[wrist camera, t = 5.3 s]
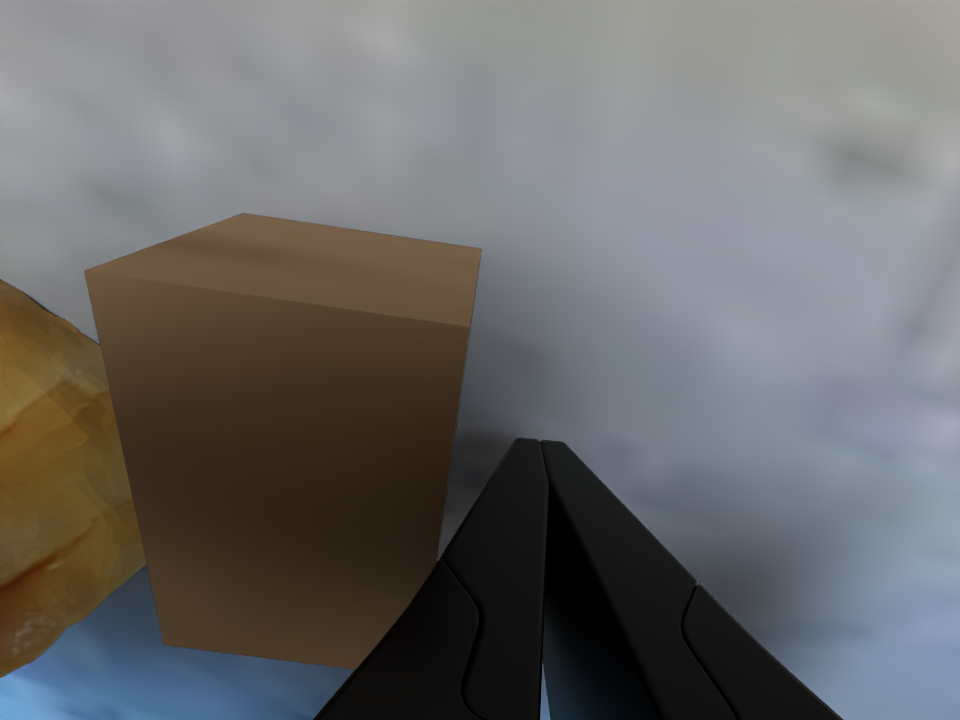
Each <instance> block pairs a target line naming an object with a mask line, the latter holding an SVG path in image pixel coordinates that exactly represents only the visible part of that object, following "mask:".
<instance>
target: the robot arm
mask: <svg viewBox="0 0 960 720" xmlns="http://www.w3.org/2000/svg"><path fill="white" fill-rule="evenodd" d="M696 585H697V581H696V579H695V578H694V577H693V576H692V575H691V574H690V573H689V572H688V571H687V570H686V569H685V568H684V567H683V566H682V565H681V564H680V563H679V562H678V560H677V559H676V558H675V557H674V556H673V555H672V554H671V553H670V552H669V551H668V550H667V549H666V548H665V547H664V546H663V545H662V544H661V543H660V542H659V541H658V540H657V539H656V538H655V537H654V535H653V534H652V533H651V532H650V531H649V530H648V529H647V528H646V527H645V526H644V525H643V524H642V523H641V522H640V521H639V520H638V519H637V518H636V517H635V516H634V515H633V514H632V513H631V512H630V510H629V509H628V508H627V507H626V506H625V505H624V504H623V503H622V502H621V501H620V500H619V499H618V498H617V497H616V496H615V495H614V494H613V493H612V492H611V491H610V490H609V489H608V488H607V487H606V485H605V484H604V483H603V482H602V481H601V480H600V479H599V478H598V477H597V476H596V475H595V474H594V473H593V472H592V471H591V470H590V469H589V468H588V467H587V466H586V465H585V464H584V463H583V462H582V460H581V459H580V458H579V457H578V456H577V455H576V454H575V453H574V452H573V451H572V450H571V449H570V448H569V447H568V446H567V445H566V444H565V443H564V442H561V441H550V440H541V441H539V440H537V439H528V438H516V439H515V440H514V441H513V443H512V445H511V446H510V448H509V449H508V451H507V453H506V454H505V456H504V457H503V459H502V460H501V462H500V464H499V465H498V467H497V468H496V470H495V472H494V473H493V475H492V476H491V478H490V479H489V481H488V483H487V484H486V486H485V487H484V489H483V491H482V492H481V494H480V495H479V497H478V498H477V500H476V502H475V503H474V505H473V506H472V508H471V510H470V511H469V513H468V514H467V516H466V517H465V519H464V521H463V522H462V524H461V525H460V527H459V529H458V530H457V532H456V533H455V535H454V536H453V538H452V540H451V541H450V543H449V544H448V546H447V548H446V549H445V551H444V552H443V554H442V555H441V557H440V561H438V562H437V563H436V564H435V566H434V568H433V569H432V571H431V572H430V574H429V576H428V577H427V579H426V580H425V582H424V583H423V585H422V586H421V587H420V589H419V590H418V592H417V593H416V595H415V596H414V598H413V599H412V601H411V602H410V603H409V605H408V606H407V608H406V609H405V610H404V612H403V613H402V614H401V615H400V617H399V618H398V619H397V620H396V622H395V623H394V624H393V625H392V627H391V628H390V629H389V630H388V632H387V633H386V634H385V635H384V637H383V638H382V639H381V640H380V641H379V643H378V644H377V645H376V646H375V647H374V649H373V650H372V651H371V652H370V653H369V654H368V656H367V657H366V658H365V659H364V660H363V661H362V663H361V664H360V665H359V666H358V667H357V668H356V670H355V671H354V672H353V673H352V674H351V675H350V677H349V678H348V679H347V680H346V681H345V683H344V684H343V685H342V686H341V687H340V688H339V690H338V691H337V692H336V693H335V694H334V695H333V697H332V698H331V699H330V700H329V701H328V702H327V704H326V705H325V706H324V707H323V708H322V709H321V711H320V712H319V713H318V714H317V715H316V717H315V718H314V719H313V720H540V706H541V683H542V659H543V666H544V674H545V681H546V689H547V697H548V704H549V712H550V719H551V720H843V719H842V718H841V717H840V716H839V715H838V714H836V713H835V712H834V711H833V710H832V709H831V708H830V707H829V706H828V705H826V704H825V703H824V702H823V701H822V700H821V699H820V698H819V697H817V696H816V695H815V694H814V693H813V692H812V691H811V690H810V689H809V688H807V687H806V686H805V685H804V684H803V683H802V682H801V681H800V680H798V679H797V678H796V677H795V676H794V675H793V674H792V673H791V672H790V671H789V670H788V669H786V668H785V667H784V666H783V665H782V664H781V663H780V662H779V661H778V660H777V659H776V658H775V657H774V656H772V655H771V654H770V653H769V652H768V651H767V650H766V649H765V648H764V647H763V646H762V645H761V644H759V643H758V642H757V641H756V640H755V639H754V638H753V637H752V636H751V635H750V634H749V633H748V632H747V631H746V630H745V629H744V628H743V627H742V626H741V625H740V624H739V623H738V622H737V621H736V620H735V619H734V618H733V617H732V616H731V615H730V614H729V613H728V612H727V611H726V610H725V609H724V608H723V607H722V606H721V605H720V604H719V603H718V602H717V601H716V600H715V599H714V598H713V597H712V596H711V595H710V594H709V593H708V591H707V590H706V589H705V588H704V587H703V586H702V585H697V586H696Z"/></svg>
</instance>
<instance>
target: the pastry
mask: <svg viewBox="0 0 960 720" xmlns="http://www.w3.org/2000/svg"><path fill="white" fill-rule="evenodd" d="M145 565H146V559H145V555H144V550H143V545H142V540H141V536H140V531H139V526H138V522H137V517H136V512H135V508H134V503H133V498H132V493H131V489H130V484H129V479H128V475H127V470H126V465H125V461H124V456H123V451H122V446H121V442H120V437H119V432H118V428H117V423H116V418H115V414H114V409H113V404H112V399H111V395H110V390H109V385H108V381H107V376H106V371H105V367H104V362H103V357H102V352H101V348H100V346H99V345H98V344H96V343H95V342H93V341H92V340H90V339H89V338H87V337H86V336H84V335H83V334H82V333H80V332H79V331H78V330H77V329H76V328H75V327H74V326H73V325H72V324H71V323H70V322H68V321H66V320H65V319H63V318H60V317H57V316H55V315H53V314H51V313H49V312H47V311H46V310H44V309H43V308H41V307H40V306H39V305H38V304H37V303H35V302H34V301H33V300H32V299H31V298H29V297H28V296H27V295H26V294H25V293H23V292H22V291H21V290H19V289H17V288H16V287H14V286H12V285H10V284H8V283H6V282H4V281H2V280H1V279H0V678H1V677H3V676H6V675H7V674H9V673H11V672H13V671H14V670H16V669H18V668H20V667H22V666H24V665H26V664H28V663H30V662H32V661H34V660H35V659H36V658H38V657H39V656H40V655H42V654H43V653H44V652H45V651H46V650H47V649H48V648H49V647H50V646H51V645H52V644H53V643H54V642H55V641H56V640H57V639H58V638H59V637H60V636H61V634H62V633H63V632H64V631H65V629H66V628H68V627H69V626H71V625H73V624H75V623H77V622H79V621H81V620H83V619H85V618H86V617H87V616H89V615H90V614H91V613H92V612H93V611H94V610H95V609H96V608H97V607H98V606H99V605H100V604H101V603H102V602H103V601H104V600H105V599H106V598H107V597H108V596H109V595H110V594H112V593H113V592H114V591H115V590H116V589H118V588H119V587H120V586H121V585H122V584H124V583H125V582H126V581H127V580H128V579H130V578H131V577H132V576H133V575H134V574H135V573H136V572H138V571H139V570H140V569H141V568H142V567H143V566H145Z"/></svg>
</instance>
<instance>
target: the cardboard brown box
mask: <svg viewBox="0 0 960 720" xmlns="http://www.w3.org/2000/svg"><path fill="white" fill-rule="evenodd" d="M481 250H482V249H479V248H473V247H466V246H459V245H452V244H446V243H439V242H432V241H426V240H419V239H412V238H406V237H399V236H392V235H386V234H379V233H372V232H366V231H359V230H352V229H346V228H339V227H332V226H326V225H319V224H312V223H306V222H299V221H292V220H286V219H279V218H272V217H266V216H259V215H252V214H246V213H242V214H239V215H237V216H234V217H231V218H228V219H226V220H223V221H220V222H217V223H215V224H212V225H209V226H206V227H204V228H201V229H198V230H195V231H192V232H190V233H187V234H184V235H181V236H179V237H176V238H173V239H170V240H168V241H165V242H162V243H159V244H157V245H154V246H151V247H148V248H146V249H143V250H140V251H137V252H135V253H132V254H129V255H126V256H124V257H121V258H118V259H115V260H113V261H110V262H107V263H104V264H102V265H99V266H96V267H93V268H91V269H88V270H85V271H84V273H85V277H86V282H87V287H88V291H89V296H90V301H91V305H92V310H93V315H94V320H95V324H96V329H97V334H98V338H99V343H100V348H101V352H102V357H103V362H104V367H105V371H106V376H107V381H108V385H109V390H110V395H111V399H112V404H113V409H114V414H115V418H116V423H117V428H118V432H119V437H120V442H121V446H122V451H123V456H124V461H125V465H126V470H127V475H128V479H129V484H130V489H131V493H132V498H133V503H134V508H135V512H136V517H137V522H138V526H139V531H140V536H141V540H142V545H143V550H144V555H145V559H146V564H147V569H148V573H149V578H150V583H151V587H152V592H153V597H154V602H155V606H156V611H157V616H158V620H159V625H160V630H161V634H162V639H163V644H164V645H168V646H175V647H183V648H191V649H199V650H207V651H214V652H222V653H230V654H238V655H246V656H254V657H261V658H269V659H277V660H285V661H293V662H301V663H308V664H316V665H324V666H332V667H340V668H347V669H355V670H356V668H357V667H358V666H359V665H360V664H361V663H362V661H363V660H364V659H365V658H366V657H367V656H368V654H369V653H370V652H371V651H372V650H373V649H374V647H375V646H376V645H377V644H378V643H379V641H380V640H381V639H382V638H383V637H384V635H385V634H386V633H387V632H388V630H389V629H390V628H391V627H392V625H393V624H394V623H395V622H396V620H397V619H398V618H399V617H400V615H401V614H402V613H403V612H404V610H405V609H406V608H407V606H408V605H409V603H410V602H411V601H412V599H413V598H414V596H415V595H416V593H417V592H418V590H419V589H420V587H421V586H422V585H423V583H424V582H425V580H426V579H427V577H428V576H429V574H430V572H431V571H432V569H433V568H434V566H435V564H436V563H437V557H438V551H439V544H440V537H441V530H442V523H443V517H444V510H445V503H446V496H447V489H448V482H449V475H450V468H451V461H452V454H453V447H454V440H455V433H456V426H457V419H458V412H459V404H460V397H461V390H462V383H463V376H464V369H465V362H466V355H467V348H468V341H469V334H470V327H471V320H472V313H473V306H474V299H475V292H476V285H477V278H478V271H479V264H480V257H481Z"/></svg>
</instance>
